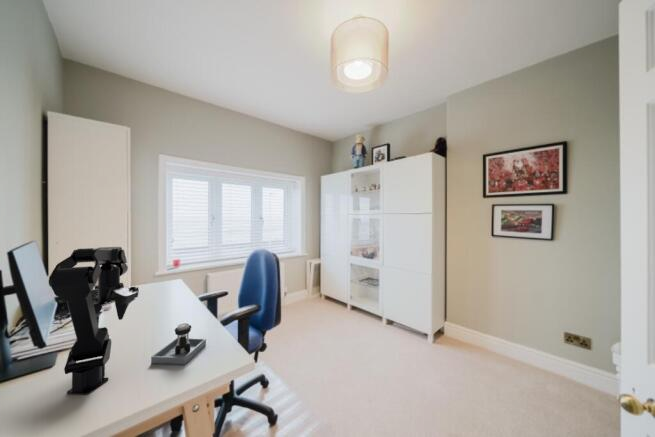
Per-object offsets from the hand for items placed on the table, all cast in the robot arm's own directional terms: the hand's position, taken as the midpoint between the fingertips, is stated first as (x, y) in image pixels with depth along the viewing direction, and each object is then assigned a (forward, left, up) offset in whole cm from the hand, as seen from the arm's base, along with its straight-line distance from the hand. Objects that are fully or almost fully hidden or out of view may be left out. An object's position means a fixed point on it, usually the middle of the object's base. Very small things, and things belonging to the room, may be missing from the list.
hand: (108, 324), depth 85 cm
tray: (+4, -24, -12) cm, 27 cm away
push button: (+4, -24, -12) cm, 27 cm away
